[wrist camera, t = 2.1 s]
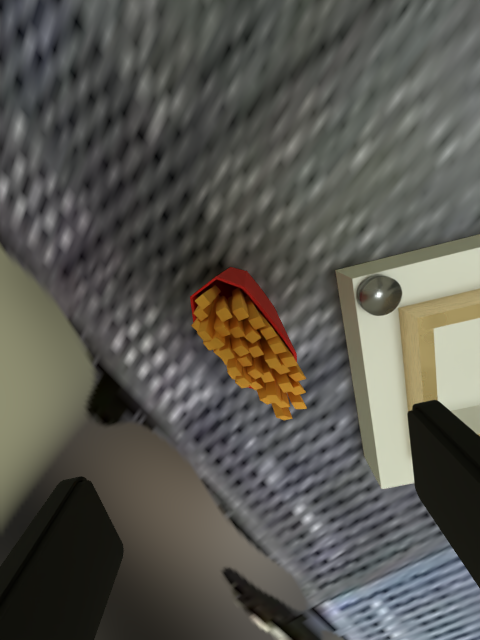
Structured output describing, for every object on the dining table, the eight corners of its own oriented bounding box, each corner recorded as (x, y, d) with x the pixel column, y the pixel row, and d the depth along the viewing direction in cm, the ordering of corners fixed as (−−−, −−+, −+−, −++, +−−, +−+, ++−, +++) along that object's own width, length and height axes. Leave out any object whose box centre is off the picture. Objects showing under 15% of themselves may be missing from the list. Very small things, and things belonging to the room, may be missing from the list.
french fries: (197, 279, 25) (162, 325, 14) (234, 250, 25) (229, 274, 13) (256, 351, 28) (268, 443, 16) (292, 327, 27) (330, 404, 15)
